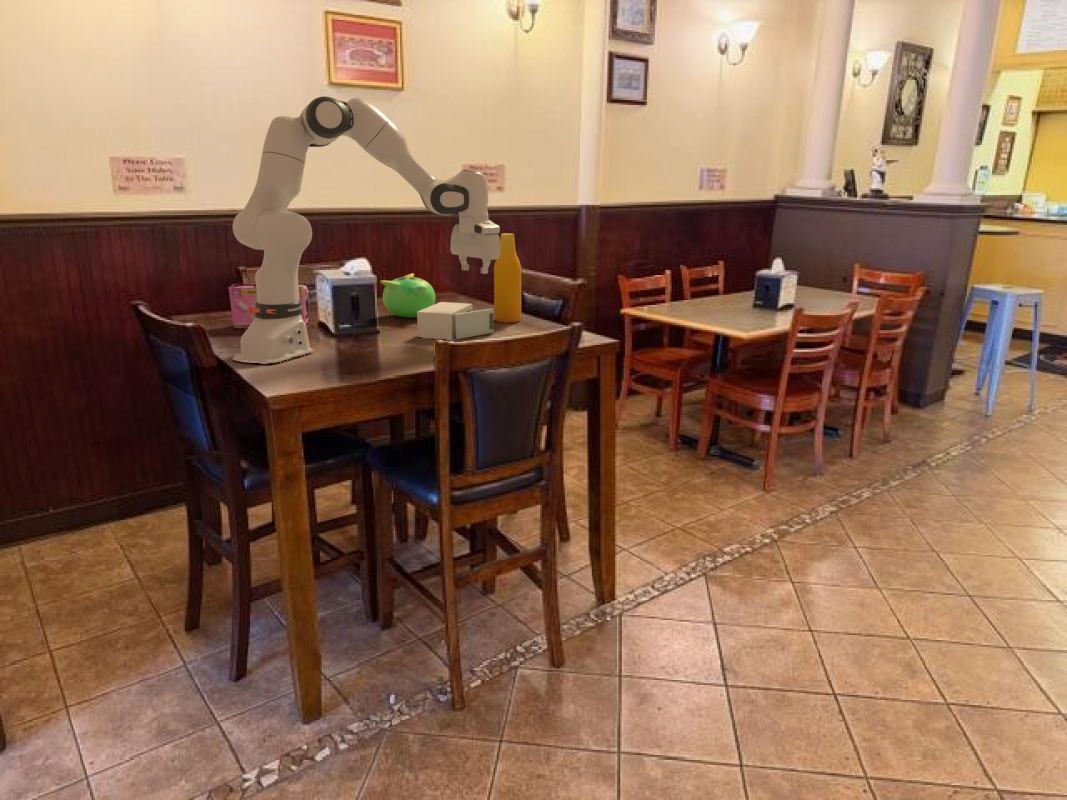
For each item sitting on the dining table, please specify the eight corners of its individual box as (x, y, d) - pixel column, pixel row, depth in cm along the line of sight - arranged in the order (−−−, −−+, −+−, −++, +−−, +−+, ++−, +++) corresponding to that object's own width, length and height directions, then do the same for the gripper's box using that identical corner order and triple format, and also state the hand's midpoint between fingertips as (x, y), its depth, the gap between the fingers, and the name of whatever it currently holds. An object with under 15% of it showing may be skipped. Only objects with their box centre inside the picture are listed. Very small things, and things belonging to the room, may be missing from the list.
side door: (455, 340, 226) (454, 315, 224) (451, 339, 228) (451, 314, 225) (495, 332, 236) (494, 309, 234) (491, 331, 238) (490, 308, 235)
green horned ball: (440, 313, 268) (438, 272, 263) (429, 322, 252) (427, 279, 247) (390, 312, 269) (388, 270, 265) (377, 321, 253) (374, 277, 249)
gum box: (313, 323, 250) (310, 282, 246) (309, 328, 242) (306, 286, 238) (238, 324, 247) (234, 283, 243) (232, 330, 239) (227, 287, 235)
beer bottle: (517, 323, 251) (518, 235, 243) (491, 322, 253) (490, 234, 244) (523, 318, 260) (524, 233, 251) (497, 317, 262) (497, 232, 253)
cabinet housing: (451, 340, 227) (450, 314, 225) (417, 337, 230) (416, 311, 228) (475, 327, 246) (474, 302, 243) (444, 324, 249) (443, 300, 246)
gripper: (444, 224, 232) (446, 269, 237) (487, 228, 218) (487, 276, 222) (461, 223, 236) (462, 267, 241) (503, 227, 222) (503, 274, 226)
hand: (474, 271), depth 231 cm, fingers open, 8 cm apart
